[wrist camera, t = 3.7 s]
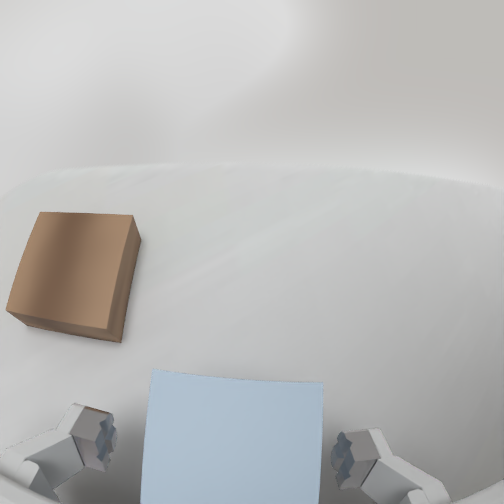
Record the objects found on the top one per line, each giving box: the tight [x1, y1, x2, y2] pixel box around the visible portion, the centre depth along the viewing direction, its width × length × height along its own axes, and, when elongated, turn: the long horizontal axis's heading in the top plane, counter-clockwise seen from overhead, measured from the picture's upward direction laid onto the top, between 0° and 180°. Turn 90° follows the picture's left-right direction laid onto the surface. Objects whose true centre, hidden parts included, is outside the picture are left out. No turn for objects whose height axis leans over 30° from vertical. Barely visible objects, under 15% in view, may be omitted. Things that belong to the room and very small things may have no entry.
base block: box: [6, 212, 141, 343], centre depth 17 cm, size 7×7×3 cm
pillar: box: [140, 369, 323, 504], centre depth 10 cm, size 4×4×10 cm
